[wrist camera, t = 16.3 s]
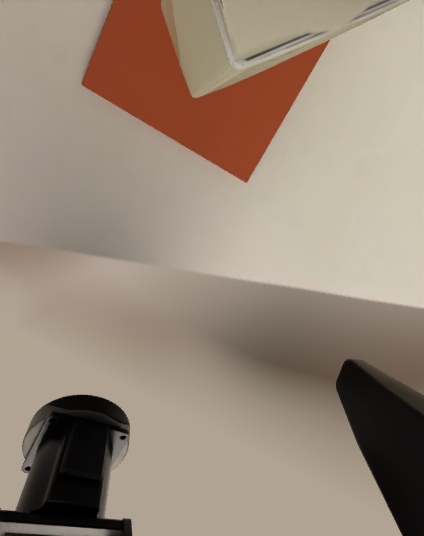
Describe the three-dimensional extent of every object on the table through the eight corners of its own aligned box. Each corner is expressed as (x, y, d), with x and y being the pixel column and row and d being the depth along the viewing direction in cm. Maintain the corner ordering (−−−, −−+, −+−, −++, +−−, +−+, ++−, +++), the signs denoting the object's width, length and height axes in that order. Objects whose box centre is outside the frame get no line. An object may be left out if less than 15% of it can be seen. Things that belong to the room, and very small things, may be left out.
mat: (245, 181, 20) (246, 183, 19) (82, 85, 16) (81, 84, 16) (357, -11, 16) (361, -14, 16) (184, -179, 13) (185, -188, 13)
